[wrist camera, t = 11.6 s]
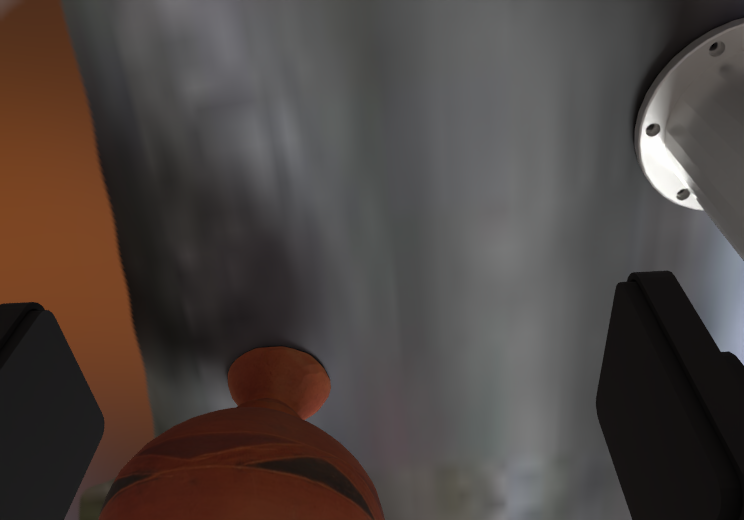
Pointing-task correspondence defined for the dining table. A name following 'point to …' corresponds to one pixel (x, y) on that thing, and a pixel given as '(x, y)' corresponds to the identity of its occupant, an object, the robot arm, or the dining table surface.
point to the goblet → (250, 455)
